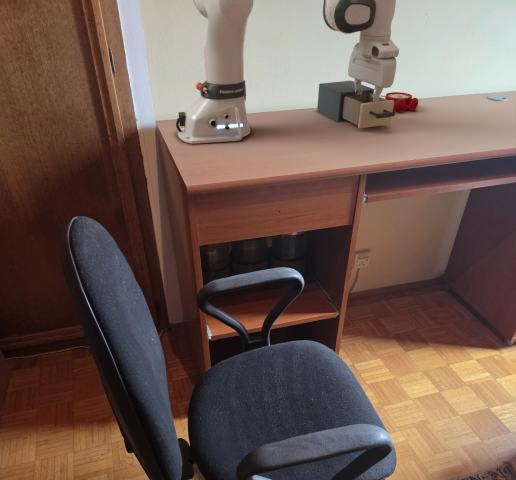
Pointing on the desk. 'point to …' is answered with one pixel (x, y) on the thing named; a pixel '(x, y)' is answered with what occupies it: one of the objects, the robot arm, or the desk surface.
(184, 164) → the desk surface
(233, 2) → the robot arm
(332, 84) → the cabinet
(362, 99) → the drawer
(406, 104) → the alarm clock
